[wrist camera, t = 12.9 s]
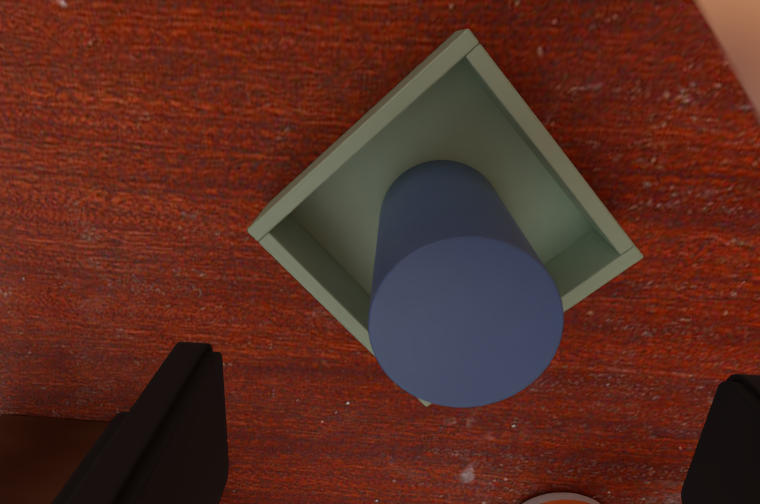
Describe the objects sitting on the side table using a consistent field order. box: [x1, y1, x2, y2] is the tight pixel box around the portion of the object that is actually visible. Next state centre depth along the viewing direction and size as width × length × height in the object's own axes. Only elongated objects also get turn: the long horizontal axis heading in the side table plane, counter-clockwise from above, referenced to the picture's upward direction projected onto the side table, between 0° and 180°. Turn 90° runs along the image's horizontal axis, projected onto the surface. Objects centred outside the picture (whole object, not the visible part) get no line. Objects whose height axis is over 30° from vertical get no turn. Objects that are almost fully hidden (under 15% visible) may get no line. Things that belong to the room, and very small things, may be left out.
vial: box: [368, 160, 564, 407], centre depth 18 cm, size 5×5×9 cm
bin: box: [247, 29, 643, 407], centre depth 21 cm, size 10×10×4 cm
